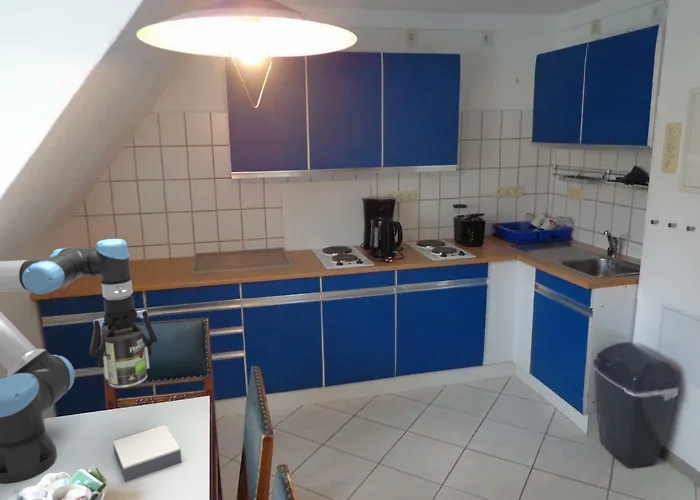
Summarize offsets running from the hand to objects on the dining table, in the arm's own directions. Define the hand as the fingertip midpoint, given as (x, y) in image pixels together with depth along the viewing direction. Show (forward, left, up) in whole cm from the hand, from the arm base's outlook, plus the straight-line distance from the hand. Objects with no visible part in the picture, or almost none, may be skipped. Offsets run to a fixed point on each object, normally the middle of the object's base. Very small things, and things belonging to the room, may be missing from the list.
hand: (127, 372), depth 147 cm
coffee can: (0, 0, -3) cm, 3 cm away
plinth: (+14, 0, -20) cm, 24 cm away
